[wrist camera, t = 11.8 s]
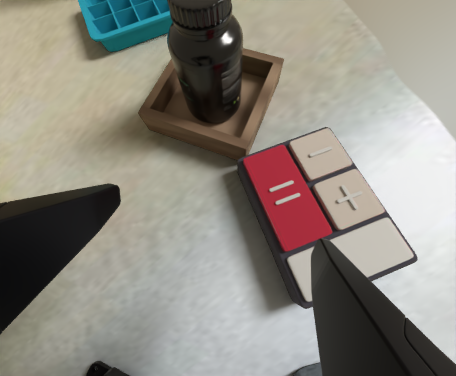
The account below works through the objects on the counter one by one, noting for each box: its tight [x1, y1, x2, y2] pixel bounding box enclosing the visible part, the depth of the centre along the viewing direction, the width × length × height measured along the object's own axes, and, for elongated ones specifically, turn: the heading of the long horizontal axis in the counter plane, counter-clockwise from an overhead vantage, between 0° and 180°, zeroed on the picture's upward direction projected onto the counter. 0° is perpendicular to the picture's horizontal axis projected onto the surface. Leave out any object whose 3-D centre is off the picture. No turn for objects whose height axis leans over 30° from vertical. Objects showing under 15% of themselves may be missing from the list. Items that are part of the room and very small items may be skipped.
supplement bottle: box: [167, 0, 243, 123], centre depth 21 cm, size 7×7×12 cm
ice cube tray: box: [78, 0, 172, 52], centre depth 32 cm, size 12×20×3 cm, turn 115°
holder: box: [138, 48, 284, 160], centre depth 26 cm, size 13×13×3 cm
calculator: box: [237, 127, 417, 309], centre depth 21 cm, size 11×4×15 cm
